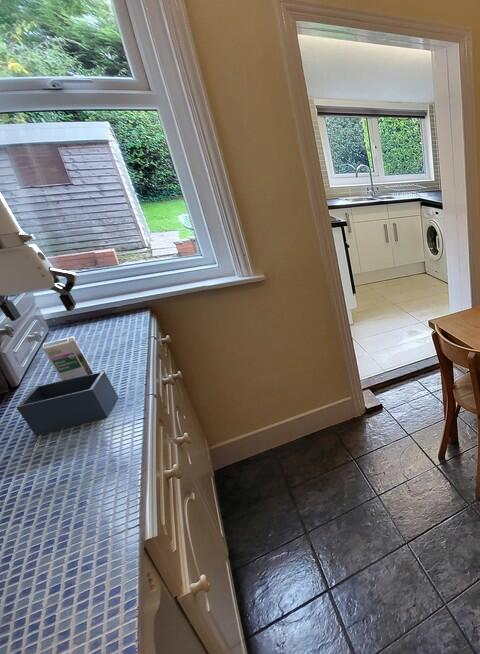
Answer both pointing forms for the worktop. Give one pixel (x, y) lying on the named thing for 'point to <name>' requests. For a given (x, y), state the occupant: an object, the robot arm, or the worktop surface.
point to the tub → (68, 403)
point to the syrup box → (67, 358)
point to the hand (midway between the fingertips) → (44, 314)
